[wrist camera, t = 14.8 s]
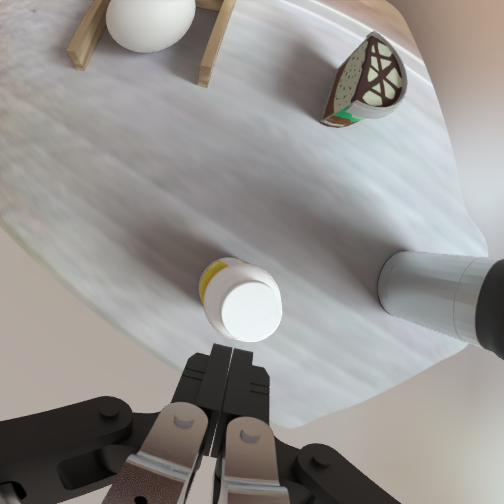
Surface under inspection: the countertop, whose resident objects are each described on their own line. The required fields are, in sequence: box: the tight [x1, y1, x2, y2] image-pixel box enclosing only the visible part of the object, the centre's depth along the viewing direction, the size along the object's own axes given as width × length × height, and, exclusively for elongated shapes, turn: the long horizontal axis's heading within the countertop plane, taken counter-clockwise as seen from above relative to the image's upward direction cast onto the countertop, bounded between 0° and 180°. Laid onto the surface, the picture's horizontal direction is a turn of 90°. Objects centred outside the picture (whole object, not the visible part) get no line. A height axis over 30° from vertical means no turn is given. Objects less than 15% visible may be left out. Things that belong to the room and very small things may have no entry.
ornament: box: [106, 0, 195, 53], centre depth 26 cm, size 10×10×12 cm
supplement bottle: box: [199, 257, 282, 342], centre depth 30 cm, size 7×7×13 cm
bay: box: [66, 0, 236, 87], centre depth 30 cm, size 17×14×5 cm
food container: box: [320, 31, 407, 128], centre depth 33 cm, size 12×6×10 cm, turn 160°
